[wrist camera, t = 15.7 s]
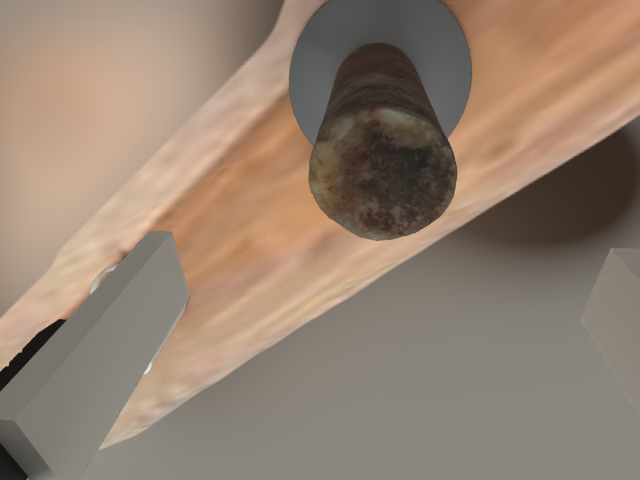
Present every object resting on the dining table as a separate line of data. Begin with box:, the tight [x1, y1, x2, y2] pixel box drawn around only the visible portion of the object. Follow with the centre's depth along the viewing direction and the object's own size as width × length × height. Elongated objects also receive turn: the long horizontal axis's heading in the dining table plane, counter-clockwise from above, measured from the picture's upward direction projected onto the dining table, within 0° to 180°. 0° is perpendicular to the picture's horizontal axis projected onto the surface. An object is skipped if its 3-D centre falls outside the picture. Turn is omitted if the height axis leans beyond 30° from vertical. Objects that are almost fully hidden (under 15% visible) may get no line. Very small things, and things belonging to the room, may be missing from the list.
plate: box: [289, 0, 472, 146], centre depth 36 cm, size 16×16×1 cm
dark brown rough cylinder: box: [309, 43, 457, 241], centre depth 27 cm, size 8×7×20 cm
